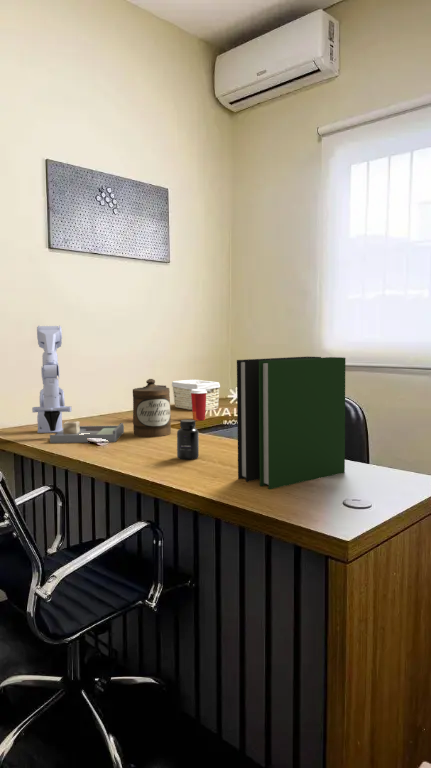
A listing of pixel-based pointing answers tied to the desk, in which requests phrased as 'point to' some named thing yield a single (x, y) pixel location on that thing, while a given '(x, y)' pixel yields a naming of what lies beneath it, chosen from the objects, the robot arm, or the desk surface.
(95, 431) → the grey tray
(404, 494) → the desk surface
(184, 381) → the storage basket
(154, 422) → the wooden container
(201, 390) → the paper cup
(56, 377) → the robot arm
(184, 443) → the supplement bottle
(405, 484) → the desk surface
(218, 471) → the desk surface
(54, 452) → the desk surface
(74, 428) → the birch block
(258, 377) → the upright hardcover books
